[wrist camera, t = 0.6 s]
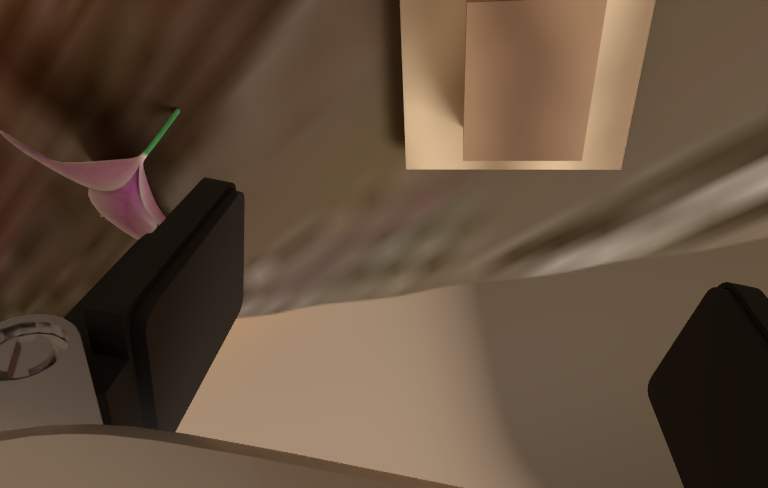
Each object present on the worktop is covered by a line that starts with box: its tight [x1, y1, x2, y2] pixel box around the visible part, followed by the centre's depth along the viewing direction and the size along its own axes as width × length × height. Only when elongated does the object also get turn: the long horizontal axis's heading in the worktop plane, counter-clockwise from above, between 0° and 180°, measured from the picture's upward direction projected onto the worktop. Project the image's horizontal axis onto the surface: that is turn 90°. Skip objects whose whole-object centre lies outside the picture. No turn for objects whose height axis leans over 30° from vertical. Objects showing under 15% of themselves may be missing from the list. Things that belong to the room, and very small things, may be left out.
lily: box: [0, 109, 180, 240], centre depth 31 cm, size 12×12×10 cm
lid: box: [400, 0, 655, 170], centre depth 25 cm, size 12×12×5 cm
